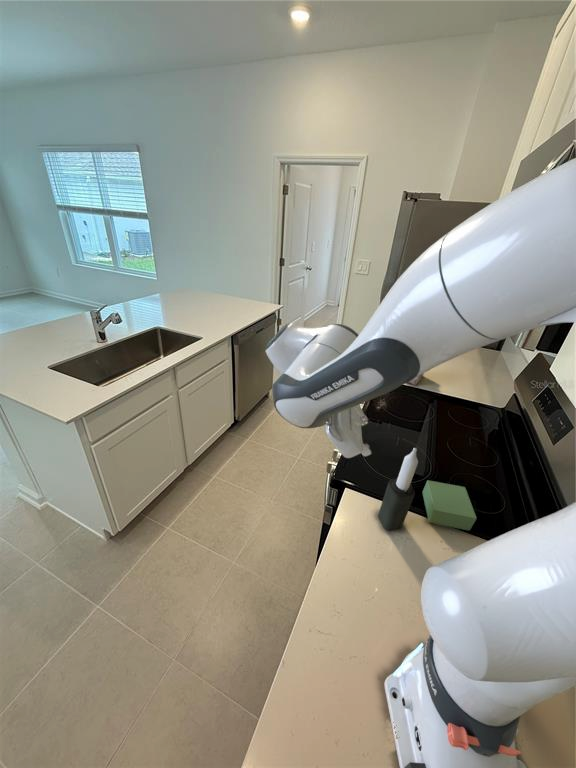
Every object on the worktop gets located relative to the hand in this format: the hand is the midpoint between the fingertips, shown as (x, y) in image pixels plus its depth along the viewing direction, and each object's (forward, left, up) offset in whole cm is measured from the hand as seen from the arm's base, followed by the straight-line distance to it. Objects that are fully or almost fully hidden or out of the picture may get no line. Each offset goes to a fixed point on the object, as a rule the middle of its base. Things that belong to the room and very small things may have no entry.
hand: (366, 436), depth 66 cm
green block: (+8, -26, -27) cm, 38 cm away
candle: (+1, -11, -27) cm, 29 cm away
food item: (+84, -28, -27) cm, 93 cm away
